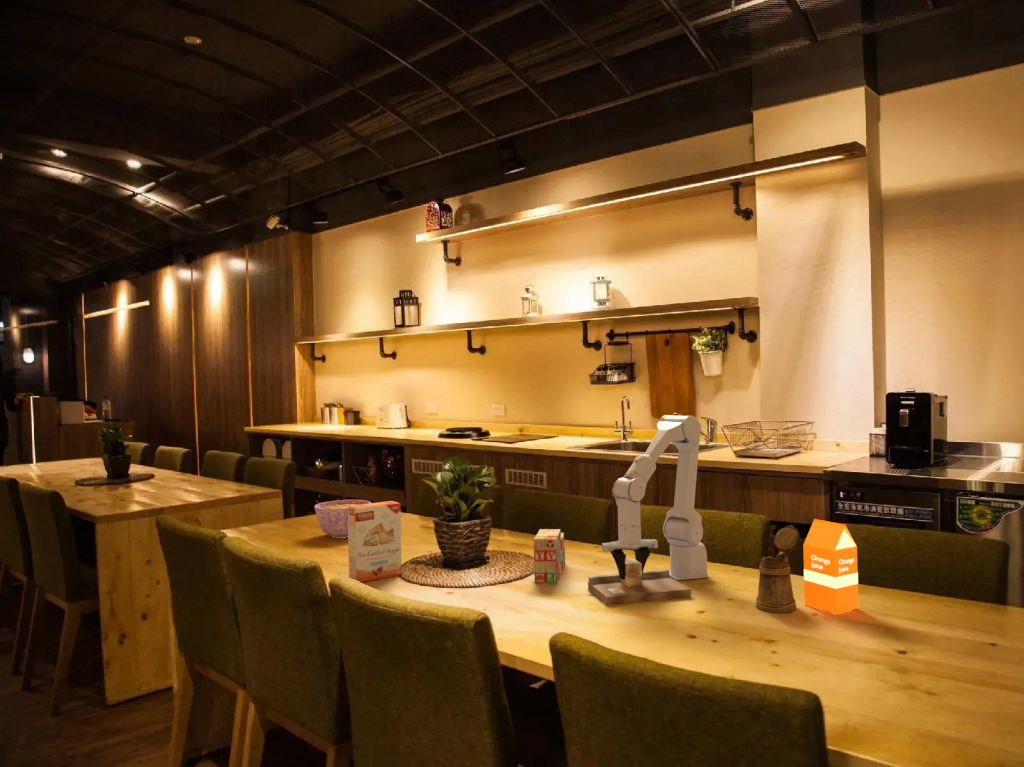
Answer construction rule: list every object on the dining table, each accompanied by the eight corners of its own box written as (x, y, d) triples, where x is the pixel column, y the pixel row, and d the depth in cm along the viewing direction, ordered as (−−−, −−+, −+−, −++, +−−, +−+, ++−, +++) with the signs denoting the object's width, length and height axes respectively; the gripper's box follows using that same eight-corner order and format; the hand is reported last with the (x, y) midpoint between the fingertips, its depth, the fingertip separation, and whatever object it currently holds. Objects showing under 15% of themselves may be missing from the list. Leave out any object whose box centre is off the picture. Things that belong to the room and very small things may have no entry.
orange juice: (836, 615, 163) (834, 526, 163) (804, 605, 171) (802, 520, 171) (859, 609, 167) (857, 522, 167) (826, 599, 175) (824, 516, 175)
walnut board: (666, 582, 193) (666, 568, 193) (691, 597, 179) (690, 582, 179) (588, 589, 188) (587, 576, 188) (607, 605, 174) (606, 591, 174)
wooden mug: (812, 602, 173) (810, 527, 173) (784, 616, 164) (782, 536, 164) (776, 594, 179) (774, 522, 179) (748, 607, 170) (746, 531, 170)
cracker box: (356, 584, 199) (354, 508, 199) (348, 579, 204) (346, 505, 204) (403, 575, 207) (401, 502, 207) (393, 571, 212) (391, 499, 212)
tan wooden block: (634, 579, 189) (633, 558, 189) (642, 585, 183) (642, 563, 183) (620, 581, 188) (619, 560, 188) (627, 586, 183) (627, 564, 183)
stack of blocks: (544, 563, 217) (543, 522, 216) (565, 563, 215) (564, 522, 215) (534, 583, 195) (533, 538, 195) (557, 584, 194) (556, 538, 194)
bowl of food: (365, 541, 253) (364, 508, 253) (308, 542, 253) (307, 509, 253) (376, 529, 273) (375, 498, 273) (323, 530, 273) (322, 500, 273)
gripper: (608, 529, 180) (609, 584, 180) (662, 525, 183) (663, 579, 184) (598, 524, 187) (599, 577, 187) (650, 520, 190) (652, 572, 190)
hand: (630, 577), depth 186 cm, fingers closed on tan wooden block, 4 cm apart
